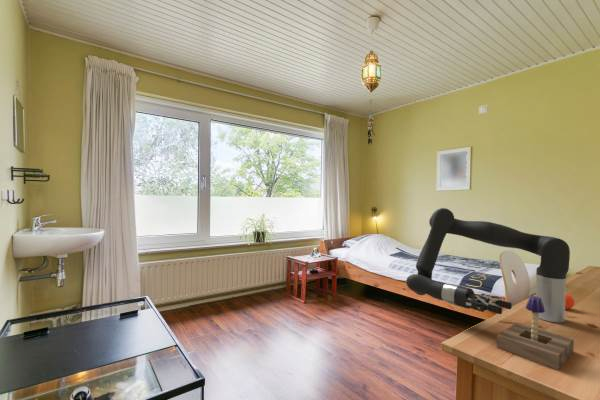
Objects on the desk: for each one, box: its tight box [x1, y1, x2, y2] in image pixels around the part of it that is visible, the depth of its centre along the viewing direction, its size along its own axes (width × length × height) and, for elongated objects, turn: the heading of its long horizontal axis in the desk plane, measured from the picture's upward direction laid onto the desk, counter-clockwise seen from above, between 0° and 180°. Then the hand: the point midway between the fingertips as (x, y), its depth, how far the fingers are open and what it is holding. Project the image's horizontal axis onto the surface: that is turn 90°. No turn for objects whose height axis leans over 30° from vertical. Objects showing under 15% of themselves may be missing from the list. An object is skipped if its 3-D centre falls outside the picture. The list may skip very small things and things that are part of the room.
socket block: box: [496, 322, 575, 370], centre depth 93 cm, size 18×15×4 cm
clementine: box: [565, 293, 575, 310], centre depth 133 cm, size 8×7×7 cm
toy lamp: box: [525, 295, 545, 342], centre depth 93 cm, size 5×5×17 cm
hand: (506, 308), depth 100 cm, fingers open, 8 cm apart
